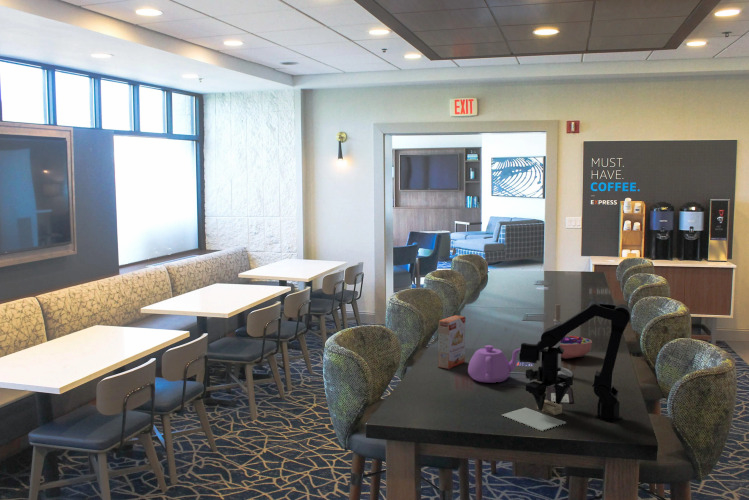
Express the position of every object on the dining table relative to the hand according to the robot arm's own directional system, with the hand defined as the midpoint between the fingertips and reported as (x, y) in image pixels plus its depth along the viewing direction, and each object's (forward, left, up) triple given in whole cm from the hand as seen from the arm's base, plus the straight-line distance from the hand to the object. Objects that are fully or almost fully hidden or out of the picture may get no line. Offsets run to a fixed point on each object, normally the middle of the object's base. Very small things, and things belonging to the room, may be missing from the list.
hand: (549, 407), depth 243 cm
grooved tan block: (0, 0, -2) cm, 2 cm away
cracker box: (+64, -11, -2) cm, 65 cm away
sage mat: (-2, +11, -1) cm, 11 cm away
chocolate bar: (+9, -16, -2) cm, 19 cm away
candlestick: (+27, -36, -2) cm, 45 cm away
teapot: (+38, -11, -2) cm, 40 cm away
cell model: (+40, -60, -2) cm, 72 cm away
